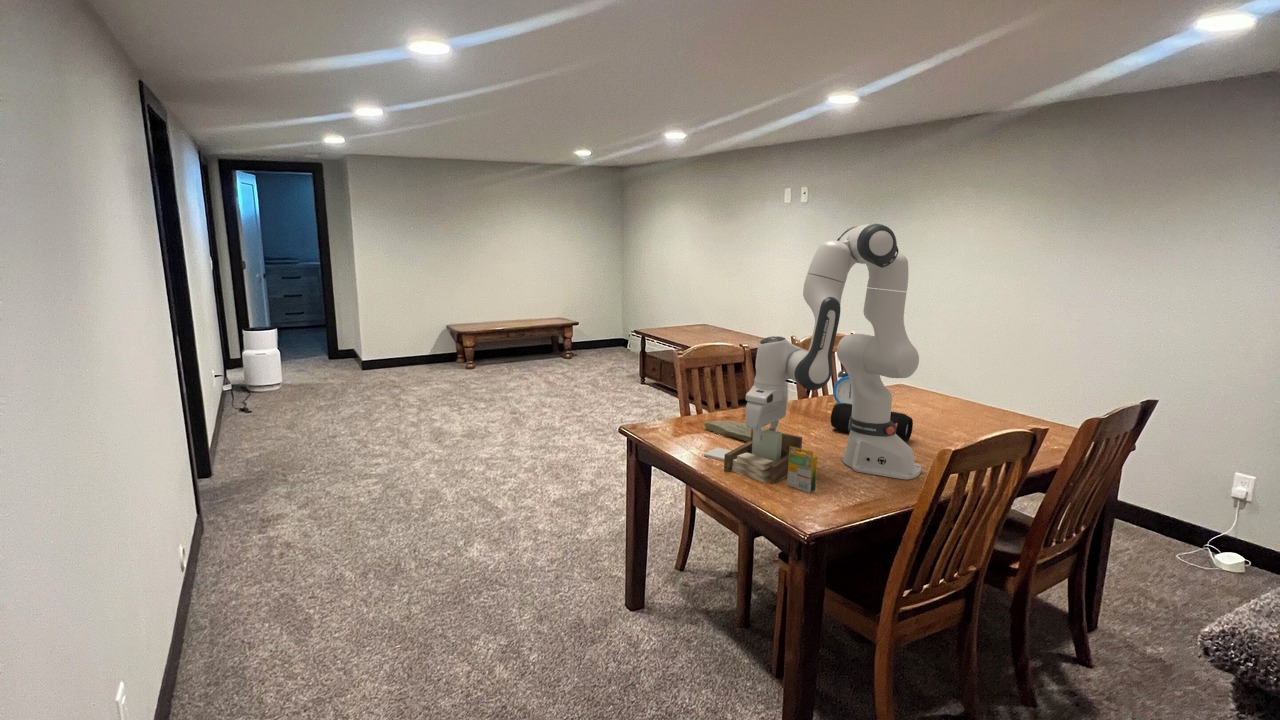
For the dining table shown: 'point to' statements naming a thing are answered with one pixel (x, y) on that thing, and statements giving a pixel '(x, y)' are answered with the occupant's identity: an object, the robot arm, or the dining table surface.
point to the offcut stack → (752, 466)
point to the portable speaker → (904, 422)
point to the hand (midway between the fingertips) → (765, 437)
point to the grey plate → (717, 453)
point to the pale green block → (768, 445)
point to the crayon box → (802, 469)
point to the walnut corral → (776, 469)
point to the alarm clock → (843, 388)
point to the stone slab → (730, 429)
